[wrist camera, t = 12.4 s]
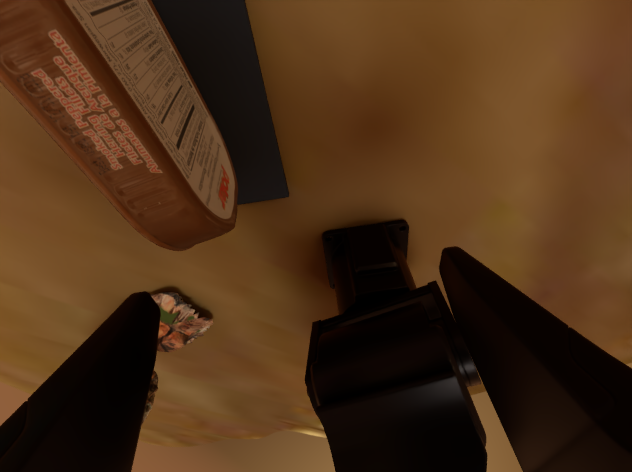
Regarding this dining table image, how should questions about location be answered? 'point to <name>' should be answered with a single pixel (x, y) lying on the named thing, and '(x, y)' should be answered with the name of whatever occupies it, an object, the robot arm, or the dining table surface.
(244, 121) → the placemat
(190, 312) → the plant with pod
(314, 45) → the dining table surface
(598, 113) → the dining table surface
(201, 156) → the tin
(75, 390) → the robot arm
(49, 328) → the dining table surface
